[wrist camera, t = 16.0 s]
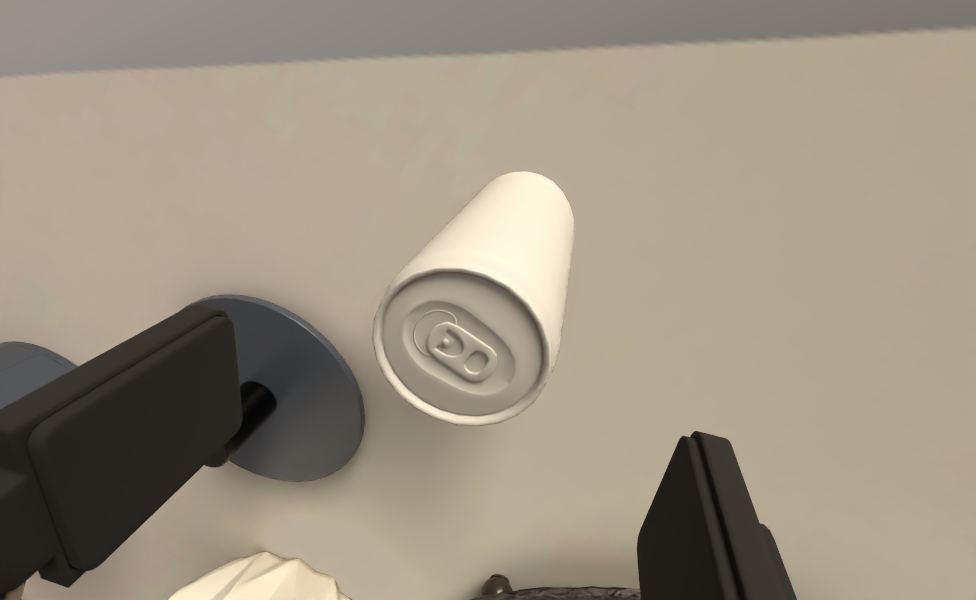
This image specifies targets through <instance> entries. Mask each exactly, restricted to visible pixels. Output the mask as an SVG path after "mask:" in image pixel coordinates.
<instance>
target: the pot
mask: <svg viewBox="0 0 976 600" xmlns="http://www.w3.org/2000/svg"><path fill="white" fill-rule="evenodd" d="M75 368H77V366H76V365H74V364H73V363H71V362H70V361H68V360H67V359H65V358H63V357H62V356H60V355H58V354H56V353H54V352H52V351H50V350H47V349H45V348H43V347H39V346H36V345H33V344H29V343H24V342H4V343H1V344H0V409H2V408H4V407H5V406H7V405H9V404H11V403H13V402H15V401H16V400H18V399H20V398H22V397H24V396H26V395H27V394H29V393H31V392H33V391H35V390H37V389H38V388H40V387H42V386H44V385H46V384H48V383H49V382H51V381H53V380H55V379H57V378H59V377H60V376H62V375H64V374H66V373H68V372H70V371H71V370H73V369H75Z"/></svg>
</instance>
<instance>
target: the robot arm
mask: <svg viewBox="0 0 976 600" xmlns="http://www.w3.org/2000/svg"><path fill="white" fill-rule="evenodd" d="M242 420H243V414H242V404H241V394H240V384H239V374H238V364H237V354H236V343H235V333H234V325H233V322H232V321H231V320H230V319H229V318H228V315H227V313H226V312H225V311H223V310H220V309H216V308H212V307H209V306H205V305H201V304H194V305H191V306H189V307H187V308H185V309H183V310H182V311H180V312H178V313H176V314H174V315H172V316H171V317H169V318H167V319H165V320H163V321H161V322H160V323H158V324H156V325H154V326H152V327H150V328H149V329H147V330H145V331H143V332H141V333H139V334H138V335H136V336H134V337H132V338H130V339H128V340H127V341H125V342H123V343H121V344H119V345H117V346H116V347H114V348H112V349H110V350H108V351H106V352H105V353H103V354H101V355H99V356H97V357H95V358H93V359H92V360H90V361H88V362H86V363H84V364H82V365H81V366H79V367H77V368H75V369H73V370H71V371H70V372H68V373H66V374H64V375H62V376H60V377H59V378H57V379H55V380H53V381H51V382H49V383H48V384H46V385H44V386H42V387H40V388H38V389H37V390H35V391H33V392H31V393H29V394H27V395H26V396H24V397H22V398H20V399H18V400H16V401H15V402H13V403H11V404H9V405H7V406H5V407H4V408H2V409H0V600H21V596H22V593H23V590H24V586H25V583H26V580H27V579H28V578H30V577H31V576H32V575H33V574H34V573H35V572H36V571H39V573H40V576H41V578H42V579H45V580H48V581H51V582H53V583H56V584H59V585H62V586H65V587H68V588H69V587H70V586H71V585H72V584H73V583H74V582H75V581H76V580H77V579H78V578H79V577H80V576H81V575H83V574H84V573H85V572H86V571H89V570H93V569H94V568H96V567H98V566H99V565H100V564H101V563H103V562H104V561H105V560H106V559H107V558H108V557H109V556H110V555H111V554H112V553H113V552H114V551H115V550H116V549H117V548H118V547H119V546H120V545H121V544H122V543H123V542H125V541H126V540H127V539H128V538H129V537H130V536H131V535H132V534H133V533H134V532H135V531H136V530H137V529H138V528H139V527H140V526H141V525H142V524H143V523H144V522H145V521H146V520H147V519H148V518H149V517H150V516H151V515H153V514H154V513H155V512H156V511H157V510H158V509H159V508H160V507H161V506H162V505H163V504H164V503H165V502H166V501H167V500H168V499H169V498H170V497H171V496H172V495H173V494H174V493H175V492H176V491H177V490H178V489H179V488H181V487H182V486H183V485H184V484H185V483H186V482H187V481H188V480H189V479H190V478H191V477H192V476H193V475H194V474H195V473H196V472H197V471H198V470H199V469H200V468H201V467H202V466H203V465H204V464H205V463H206V462H207V461H209V460H210V459H211V458H212V457H213V456H214V455H215V454H216V453H217V452H218V451H219V450H220V449H221V448H222V447H223V446H224V445H225V444H226V443H227V442H228V441H229V440H230V439H231V438H232V437H233V436H234V435H235V434H236V433H237V432H238V430H239V429H240V427H241V424H242ZM637 556H638V569H639V582H640V595H641V600H797V598H796V596H795V593H794V590H793V588H792V585H791V582H790V580H789V577H788V575H787V572H786V569H785V567H784V564H783V561H782V559H781V556H780V553H779V551H778V548H777V545H776V543H775V540H774V538H773V536H772V534H771V532H770V530H769V529H768V528H767V527H766V526H765V525H763V524H760V523H759V521H758V518H757V515H756V512H755V509H754V507H753V504H752V501H751V498H750V496H749V493H748V490H747V487H746V484H745V482H744V479H743V476H742V473H741V470H740V468H739V465H738V462H737V459H736V457H735V454H734V451H733V448H732V445H731V443H730V441H729V440H728V439H726V438H722V437H718V436H714V435H710V434H706V433H702V432H698V431H695V432H694V433H693V434H692V435H691V436H690V437H686V436H682V437H681V438H680V440H679V442H678V444H677V446H676V449H675V451H674V453H673V456H672V458H671V460H670V462H669V465H668V467H667V469H666V472H665V474H664V476H663V479H662V481H661V483H660V486H659V488H658V490H657V493H656V495H655V497H654V500H653V502H652V504H651V506H650V509H649V511H648V513H647V516H646V518H645V520H644V523H643V525H642V527H641V530H640V533H639V536H638V543H637Z"/></svg>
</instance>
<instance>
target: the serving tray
mask: <svg viewBox="0 0 976 600" xmlns="http://www.w3.org/2000/svg"><path fill="white" fill-rule="evenodd" d="M472 600H641V595H640V589H630V588H618V587H612V588H601V587H582V588H552V587H542V588H532V589H523V590H519V591H515V592H512V589H511V586H510V584H509V580H508V579H507V578H506V577H505V576H503V575H499V574H495V575H492V576H491V578H490V579H489V580H488V581H487V582H486V583H485V585H484V586H483V589H482V596H481V597H478V598H475V599H472Z"/></svg>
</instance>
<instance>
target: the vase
mask: <svg viewBox="0 0 976 600" xmlns="http://www.w3.org/2000/svg"><path fill="white" fill-rule="evenodd" d="M168 600H351V599H349V598H348V597H347V596H345V595H344V594H342V593H341V592H340V591H339V589H338V586H337V584H336V581H335V580H333V579H332V578H331V577H330V576H327V575H325V574H321V573H318V572H315V571H314V570H312V569H311V568H310V567H309V566H308V565H307V564H306V563H305V562H304V561H302V560H299V559H297V558H291V559H282V558H280V557H278V556H276V555H273V554H271V553H268V552H261V553H258V554H256V555H253V556H251V557H248V558H237V559H235V560H233V561H230V562H228V563H226V564H224V565H223V566H221V567H219V568H217V569H215V570H213V571H211V572H209V573H207V574H206V575H204V576H202V577H200V578H198V579H196V580H195V581H193V582H191V583H189V584H187V585H186V586H184V587H182V588H181V589H179V590H178V591H177V592H176V593H175V594H174V595H172V596H171V597H170V598H169V599H168Z"/></svg>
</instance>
